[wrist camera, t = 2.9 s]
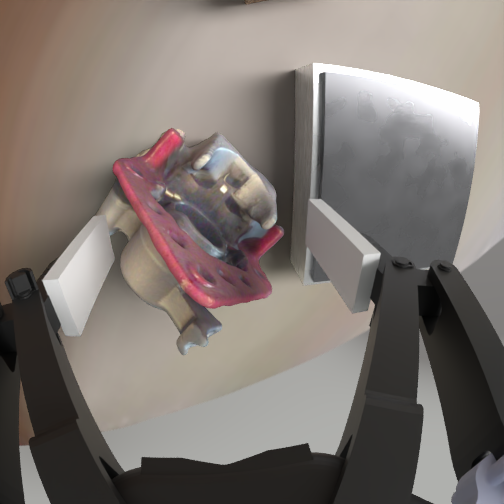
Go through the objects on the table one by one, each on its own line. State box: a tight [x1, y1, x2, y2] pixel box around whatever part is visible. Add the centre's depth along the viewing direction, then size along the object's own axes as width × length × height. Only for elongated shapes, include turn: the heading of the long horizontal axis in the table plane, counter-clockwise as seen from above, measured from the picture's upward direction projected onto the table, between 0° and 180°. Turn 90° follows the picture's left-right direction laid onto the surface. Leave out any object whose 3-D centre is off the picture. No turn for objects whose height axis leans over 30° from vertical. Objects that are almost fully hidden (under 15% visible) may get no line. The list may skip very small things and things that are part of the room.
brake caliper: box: [96, 128, 284, 355], centre depth 17 cm, size 11×11×12 cm
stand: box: [290, 63, 479, 285], centre depth 19 cm, size 14×14×4 cm
